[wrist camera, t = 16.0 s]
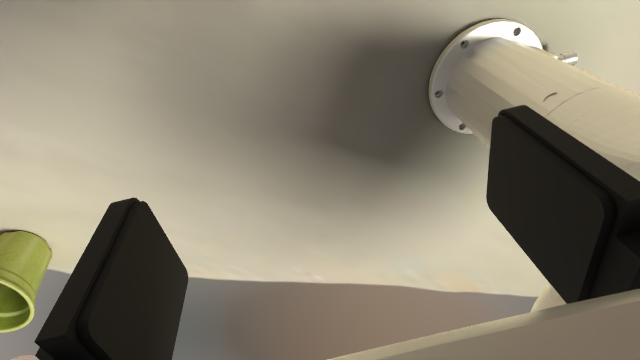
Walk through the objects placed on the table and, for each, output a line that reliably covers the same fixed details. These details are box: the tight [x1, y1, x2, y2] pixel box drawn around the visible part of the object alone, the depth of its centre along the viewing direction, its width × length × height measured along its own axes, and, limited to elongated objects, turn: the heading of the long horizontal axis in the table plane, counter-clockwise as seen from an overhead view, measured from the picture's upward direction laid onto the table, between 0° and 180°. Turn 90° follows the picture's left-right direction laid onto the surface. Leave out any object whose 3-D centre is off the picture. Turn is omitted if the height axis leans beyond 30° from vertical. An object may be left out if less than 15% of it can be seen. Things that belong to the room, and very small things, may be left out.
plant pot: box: [0, 231, 52, 332], centre depth 43 cm, size 9×9×9 cm
